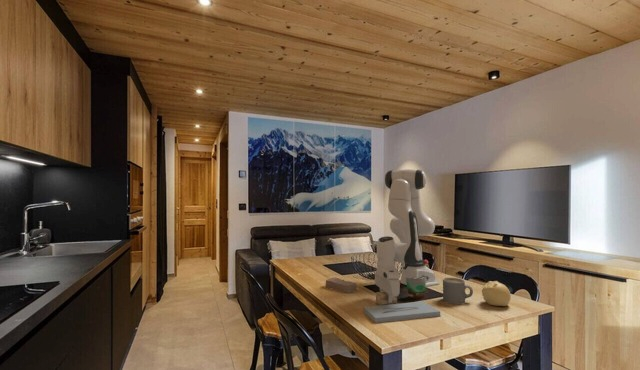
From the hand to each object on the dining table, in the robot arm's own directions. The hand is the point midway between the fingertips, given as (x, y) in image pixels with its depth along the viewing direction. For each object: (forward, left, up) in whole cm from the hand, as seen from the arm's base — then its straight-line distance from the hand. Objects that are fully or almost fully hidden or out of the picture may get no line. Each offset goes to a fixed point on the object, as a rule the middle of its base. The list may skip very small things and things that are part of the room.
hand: (386, 299), depth 153 cm
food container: (-20, -4, -2) cm, 20 cm away
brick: (+14, -28, -2) cm, 31 cm away
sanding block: (0, 0, -2) cm, 2 cm away
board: (0, +14, -2) cm, 14 cm away
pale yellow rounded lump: (-50, +14, -2) cm, 52 cm away
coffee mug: (-35, +6, -2) cm, 36 cm away
